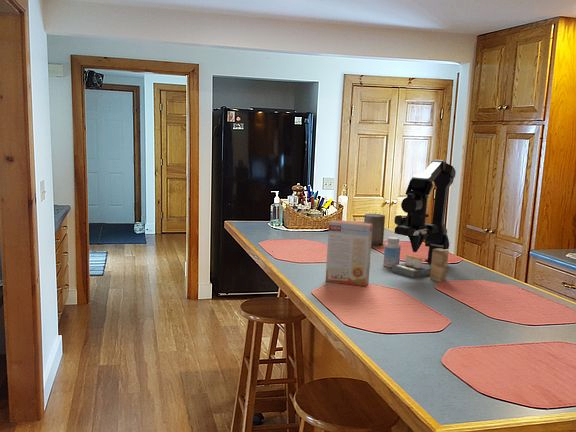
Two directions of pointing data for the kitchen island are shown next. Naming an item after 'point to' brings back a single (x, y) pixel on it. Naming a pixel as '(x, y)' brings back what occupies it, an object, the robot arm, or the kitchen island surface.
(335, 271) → the cracker box
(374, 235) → the pillar candle
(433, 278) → the oak post
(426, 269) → the breaker panel
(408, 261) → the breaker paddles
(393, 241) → the pill bottle
